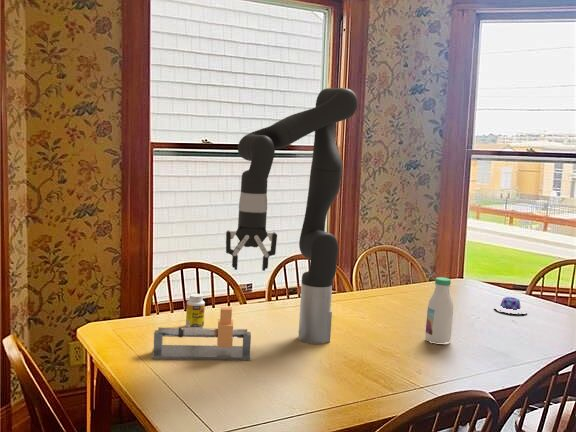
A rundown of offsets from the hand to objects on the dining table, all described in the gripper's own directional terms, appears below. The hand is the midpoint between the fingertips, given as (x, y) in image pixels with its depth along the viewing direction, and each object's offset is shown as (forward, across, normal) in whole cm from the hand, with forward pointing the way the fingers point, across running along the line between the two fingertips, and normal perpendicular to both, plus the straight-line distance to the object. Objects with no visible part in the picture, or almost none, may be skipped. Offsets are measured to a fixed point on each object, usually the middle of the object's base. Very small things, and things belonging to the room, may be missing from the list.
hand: (249, 269), depth 168 cm
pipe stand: (+24, +12, 0) cm, 27 cm away
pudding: (+24, -101, -51) cm, 116 cm away
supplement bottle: (+24, +15, -24) cm, 37 cm away
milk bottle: (+24, -60, -14) cm, 66 cm away
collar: (+21, +6, 0) cm, 22 cm away
